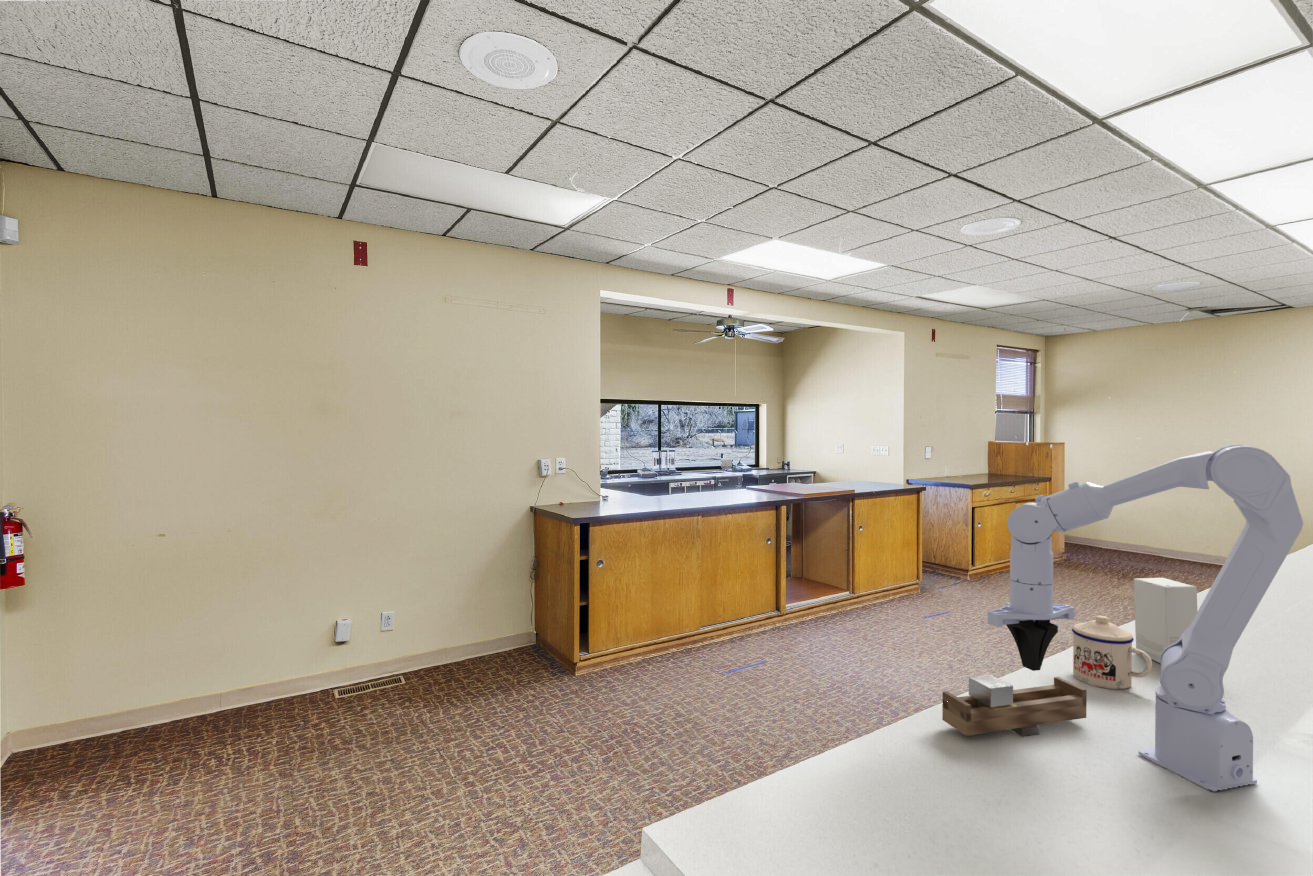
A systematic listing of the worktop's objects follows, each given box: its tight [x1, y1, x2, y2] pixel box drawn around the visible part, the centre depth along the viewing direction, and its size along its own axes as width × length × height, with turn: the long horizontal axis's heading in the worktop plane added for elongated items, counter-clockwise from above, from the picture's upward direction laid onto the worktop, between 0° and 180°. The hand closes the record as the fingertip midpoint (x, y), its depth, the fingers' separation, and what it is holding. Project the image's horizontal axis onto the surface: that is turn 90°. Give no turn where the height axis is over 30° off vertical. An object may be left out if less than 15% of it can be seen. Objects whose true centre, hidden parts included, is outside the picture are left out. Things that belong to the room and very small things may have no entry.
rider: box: [968, 673, 1014, 708], centre depth 93 cm, size 4×4×4 cm
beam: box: [941, 676, 1088, 738], centre depth 94 cm, size 22×6×6 cm, turn 104°
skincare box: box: [1133, 577, 1198, 664], centre depth 121 cm, size 8×7×16 cm
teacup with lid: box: [1071, 615, 1153, 690], centre depth 110 cm, size 12×9×12 cm
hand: (1031, 668), depth 95 cm, fingers closed
